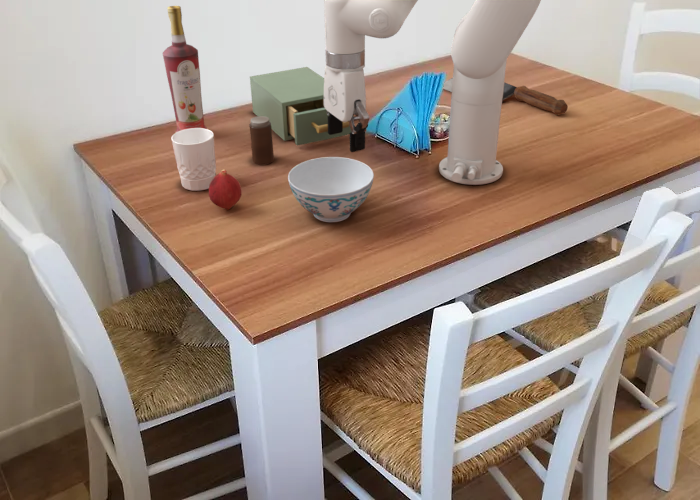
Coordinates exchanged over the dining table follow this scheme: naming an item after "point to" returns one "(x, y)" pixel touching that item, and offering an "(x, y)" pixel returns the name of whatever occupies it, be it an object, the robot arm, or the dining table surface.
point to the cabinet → (284, 95)
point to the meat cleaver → (527, 97)
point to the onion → (224, 190)
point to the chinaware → (331, 186)
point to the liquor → (183, 76)
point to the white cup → (195, 157)
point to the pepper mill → (261, 140)
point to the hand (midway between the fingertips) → (346, 141)
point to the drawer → (310, 122)
